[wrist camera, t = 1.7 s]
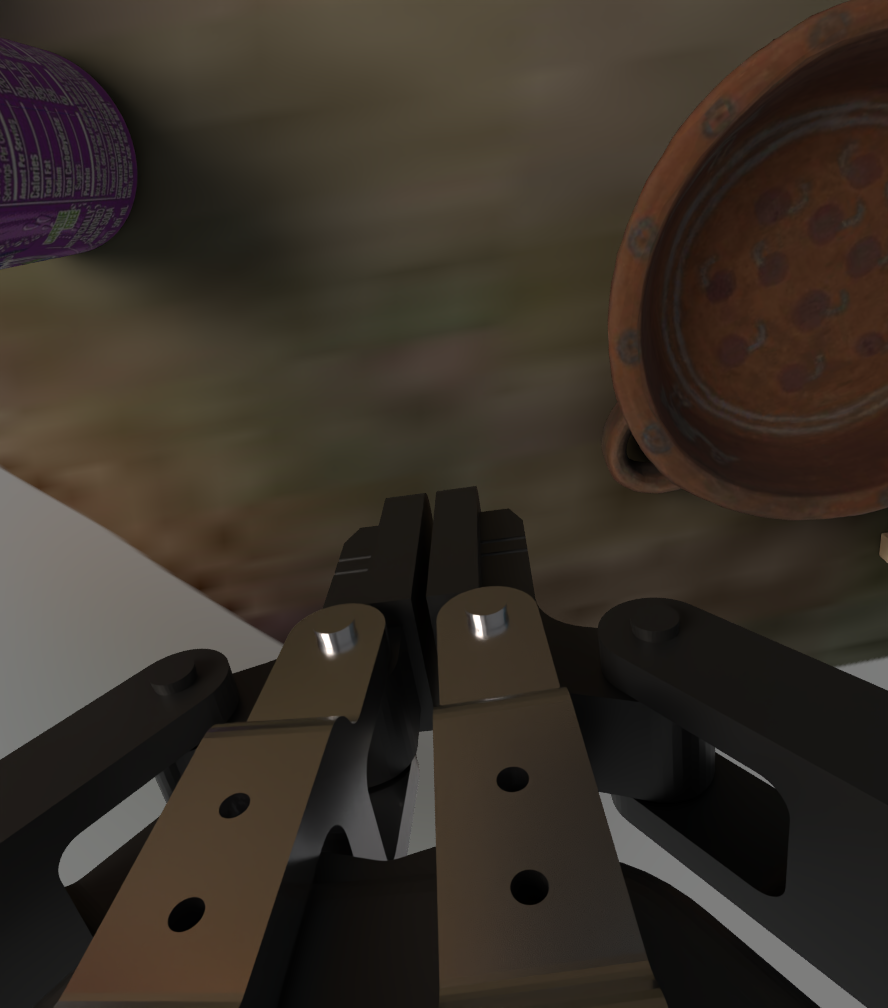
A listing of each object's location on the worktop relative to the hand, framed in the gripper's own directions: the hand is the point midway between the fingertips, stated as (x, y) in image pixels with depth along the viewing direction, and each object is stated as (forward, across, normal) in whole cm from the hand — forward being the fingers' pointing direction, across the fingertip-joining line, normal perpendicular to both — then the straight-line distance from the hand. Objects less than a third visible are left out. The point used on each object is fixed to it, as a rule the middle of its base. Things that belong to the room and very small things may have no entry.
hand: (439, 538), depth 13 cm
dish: (+19, -14, 0) cm, 24 cm away
